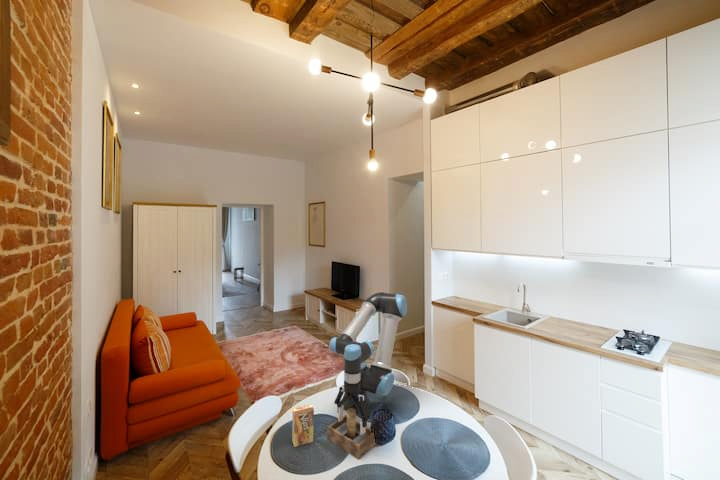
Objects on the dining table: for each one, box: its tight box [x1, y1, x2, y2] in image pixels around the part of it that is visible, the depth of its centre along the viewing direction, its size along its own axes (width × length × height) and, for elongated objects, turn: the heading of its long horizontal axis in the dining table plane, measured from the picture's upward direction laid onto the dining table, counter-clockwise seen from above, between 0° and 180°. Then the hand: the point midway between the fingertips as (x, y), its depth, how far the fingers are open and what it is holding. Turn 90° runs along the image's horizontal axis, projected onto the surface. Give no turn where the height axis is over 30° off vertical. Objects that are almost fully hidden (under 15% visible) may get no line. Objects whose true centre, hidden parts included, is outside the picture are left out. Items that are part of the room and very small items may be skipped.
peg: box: [346, 408, 357, 440], centre depth 135 cm, size 4×4×14 cm
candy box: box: [291, 404, 315, 448], centre depth 134 cm, size 9×4×15 cm, turn 116°
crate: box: [326, 414, 377, 460], centre depth 135 cm, size 19×12×6 cm, turn 49°
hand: (351, 426), depth 135 cm, fingers open, 13 cm apart
